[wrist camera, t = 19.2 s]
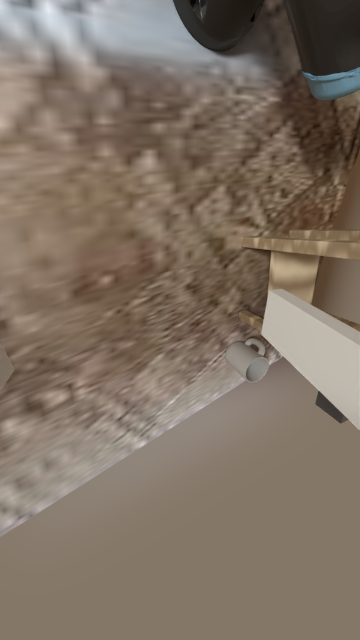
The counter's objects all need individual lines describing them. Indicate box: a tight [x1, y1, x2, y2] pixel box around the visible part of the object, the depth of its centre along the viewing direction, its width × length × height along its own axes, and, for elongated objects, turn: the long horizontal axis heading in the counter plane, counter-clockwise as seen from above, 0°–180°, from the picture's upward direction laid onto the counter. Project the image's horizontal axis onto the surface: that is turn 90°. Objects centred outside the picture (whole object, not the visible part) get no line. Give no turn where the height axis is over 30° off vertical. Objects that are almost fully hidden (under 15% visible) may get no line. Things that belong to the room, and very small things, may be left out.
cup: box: [225, 338, 269, 382], centre depth 56 cm, size 7×10×9 cm
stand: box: [239, 230, 360, 332], centre depth 42 cm, size 20×16×30 cm
